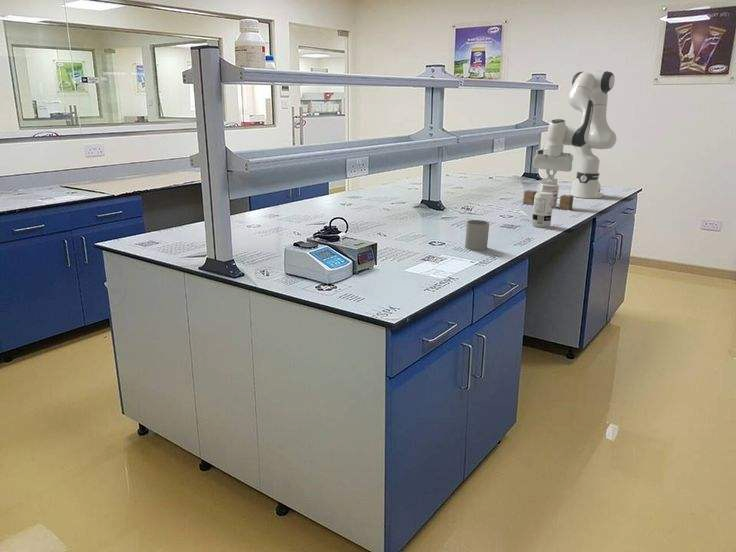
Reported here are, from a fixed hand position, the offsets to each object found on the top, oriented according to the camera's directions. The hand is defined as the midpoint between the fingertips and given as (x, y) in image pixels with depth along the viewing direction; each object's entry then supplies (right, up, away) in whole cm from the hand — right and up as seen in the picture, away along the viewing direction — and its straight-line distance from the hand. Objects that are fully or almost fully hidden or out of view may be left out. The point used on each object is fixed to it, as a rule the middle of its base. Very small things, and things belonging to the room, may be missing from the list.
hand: (550, 178), depth 300 cm
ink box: (0, -14, +5) cm, 15 cm away
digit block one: (+7, -16, -1) cm, 18 cm away
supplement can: (-18, -29, -41) cm, 53 cm away
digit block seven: (-8, -12, +11) cm, 18 cm away
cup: (-55, -41, -81) cm, 106 cm away
